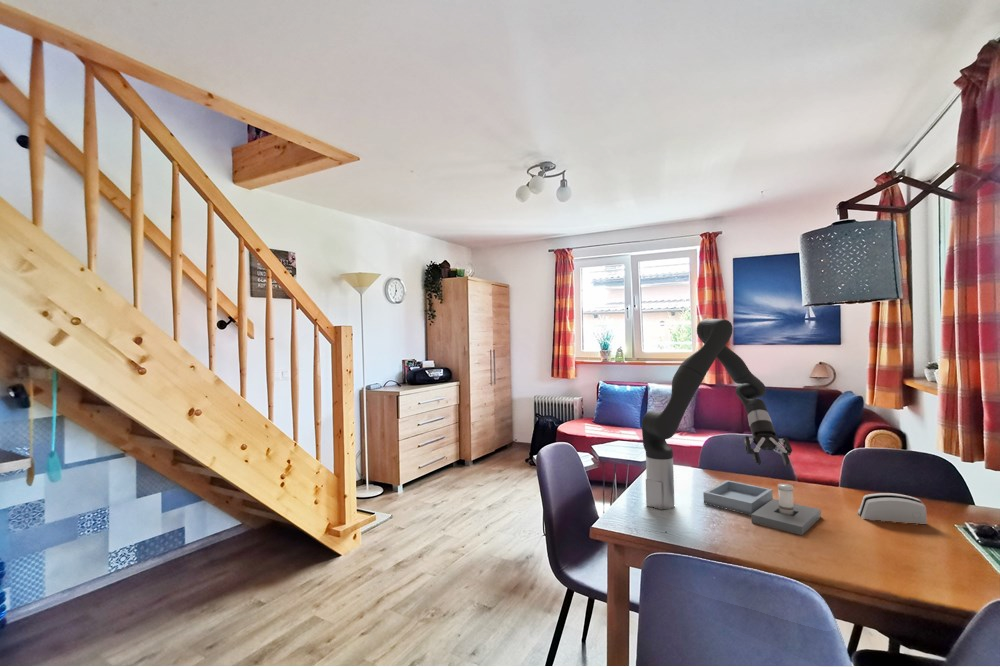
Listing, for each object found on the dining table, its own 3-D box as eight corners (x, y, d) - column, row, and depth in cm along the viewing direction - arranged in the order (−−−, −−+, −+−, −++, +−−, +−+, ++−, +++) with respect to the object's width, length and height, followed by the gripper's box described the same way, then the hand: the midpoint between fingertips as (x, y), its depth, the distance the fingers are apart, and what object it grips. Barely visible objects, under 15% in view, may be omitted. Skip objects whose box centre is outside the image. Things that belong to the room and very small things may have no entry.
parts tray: (751, 515, 151) (751, 503, 152) (703, 503, 163) (703, 492, 164) (772, 500, 165) (772, 489, 165) (727, 490, 177) (726, 480, 177)
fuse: (791, 523, 144) (790, 488, 145) (777, 519, 148) (775, 485, 148) (796, 519, 147) (794, 485, 147) (781, 516, 150) (780, 482, 151)
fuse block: (802, 535, 136) (801, 526, 136) (751, 522, 146) (751, 514, 146) (820, 517, 149) (820, 509, 149) (773, 506, 159) (772, 499, 159)
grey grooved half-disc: (919, 519, 145) (923, 492, 142) (926, 529, 141) (931, 502, 138) (856, 513, 151) (859, 488, 148) (861, 523, 147) (864, 497, 144)
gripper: (741, 418, 169) (752, 457, 157) (784, 419, 165) (798, 459, 154) (738, 430, 174) (748, 468, 162) (779, 431, 171) (793, 470, 159)
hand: (772, 464), depth 158 cm, fingers open, 8 cm apart
